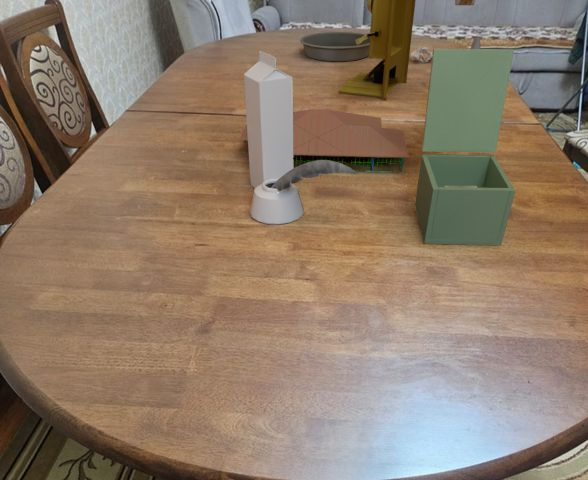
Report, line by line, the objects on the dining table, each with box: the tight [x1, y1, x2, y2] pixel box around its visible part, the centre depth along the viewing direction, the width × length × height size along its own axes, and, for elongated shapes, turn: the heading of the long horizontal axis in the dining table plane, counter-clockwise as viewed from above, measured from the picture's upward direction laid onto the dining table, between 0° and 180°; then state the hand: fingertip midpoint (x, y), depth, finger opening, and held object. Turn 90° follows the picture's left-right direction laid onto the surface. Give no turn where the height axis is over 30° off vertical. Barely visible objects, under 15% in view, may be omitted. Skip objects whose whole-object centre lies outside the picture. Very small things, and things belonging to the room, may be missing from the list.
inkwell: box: [249, 159, 358, 225], centre depth 88 cm, size 9×18×10 cm, turn 74°
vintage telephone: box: [338, 0, 416, 101], centre depth 140 cm, size 31×14×30 cm, turn 155°
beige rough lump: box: [409, 46, 433, 64], centre depth 171 cm, size 8×4×7 cm
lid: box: [421, 48, 515, 153], centre depth 84 cm, size 14×12×1 cm
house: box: [238, 108, 410, 173], centre depth 111 cm, size 23×33×8 cm
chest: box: [414, 153, 516, 246], centre depth 86 cm, size 14×12×9 cm
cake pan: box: [299, 31, 370, 62], centre depth 180 cm, size 25×25×4 cm
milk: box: [243, 50, 295, 189], centre depth 93 cm, size 6×6×22 cm
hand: (465, 2), depth 86 cm, fingers closed
